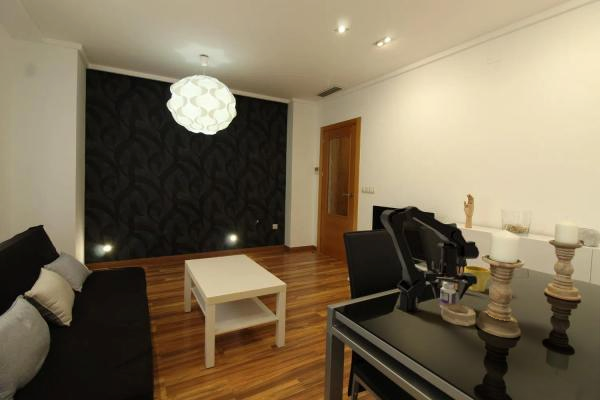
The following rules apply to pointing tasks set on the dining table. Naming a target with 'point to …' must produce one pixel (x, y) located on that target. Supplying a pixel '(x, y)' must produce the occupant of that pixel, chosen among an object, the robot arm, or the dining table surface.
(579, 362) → the dining table surface
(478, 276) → the plant pot
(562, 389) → the dining table surface
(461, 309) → the beige ring washer
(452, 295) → the pill bottle
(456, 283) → the ammunition clip
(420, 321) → the dining table surface
